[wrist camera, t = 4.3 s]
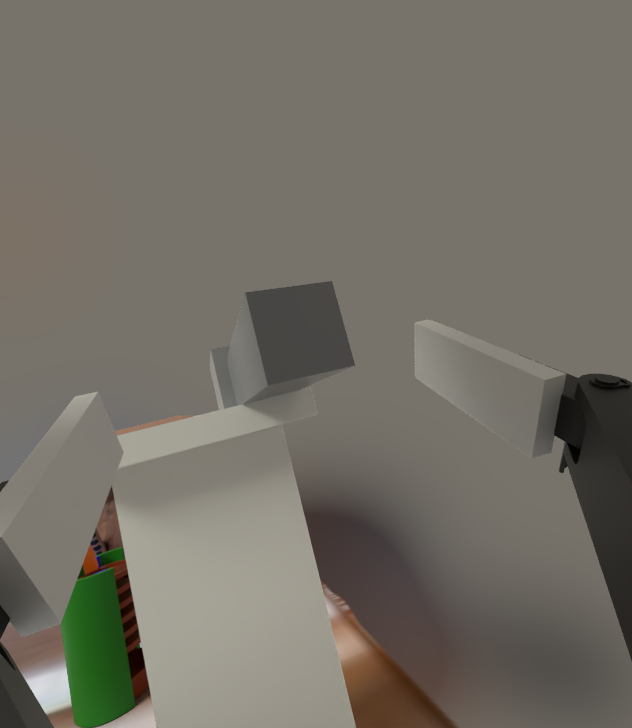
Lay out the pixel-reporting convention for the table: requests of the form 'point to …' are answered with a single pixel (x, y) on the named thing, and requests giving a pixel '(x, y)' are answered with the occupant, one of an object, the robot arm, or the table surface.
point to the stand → (227, 572)
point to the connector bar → (281, 344)
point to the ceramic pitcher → (107, 528)
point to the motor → (102, 641)
